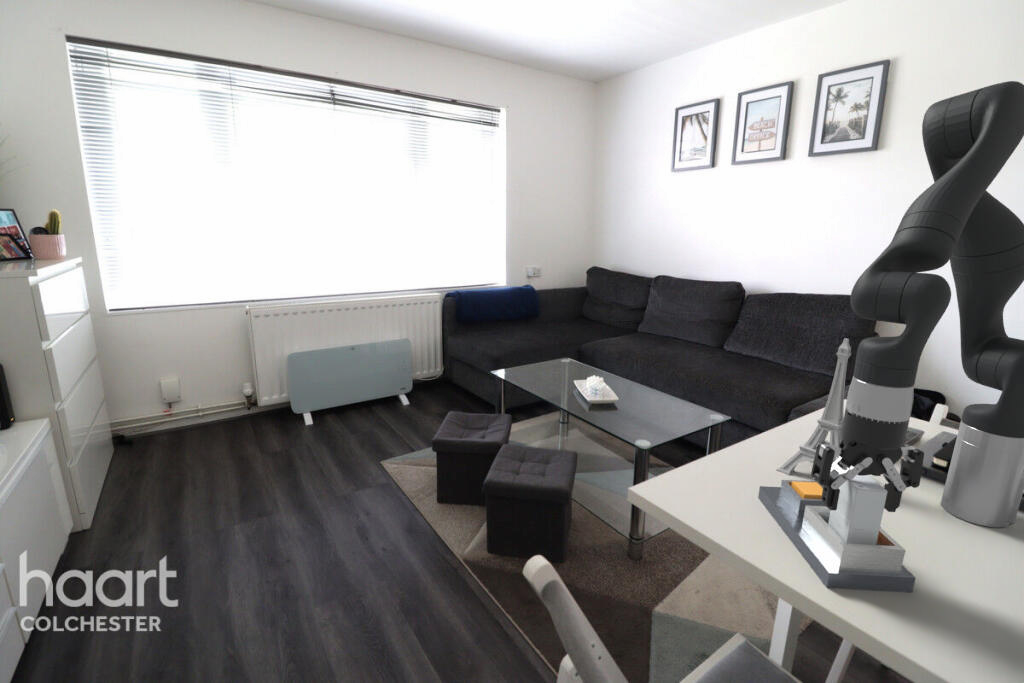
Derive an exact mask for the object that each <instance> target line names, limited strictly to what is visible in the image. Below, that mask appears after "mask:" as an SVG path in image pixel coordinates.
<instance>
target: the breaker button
mask: <svg viewBox="0 0 1024 683" xmlns="http://www.w3.org/2000/svg"><path fill="white" fill-rule="evenodd" d="M791 487H792V488H793V489H794V490H795V491H796V492H797V493H798V494H799V495H800V496H801V498H807V499H821V497H822V491H823V488H822V487H821V486H820V485H819V484H818V483H817V482H795V481H792V485H791Z"/></svg>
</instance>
